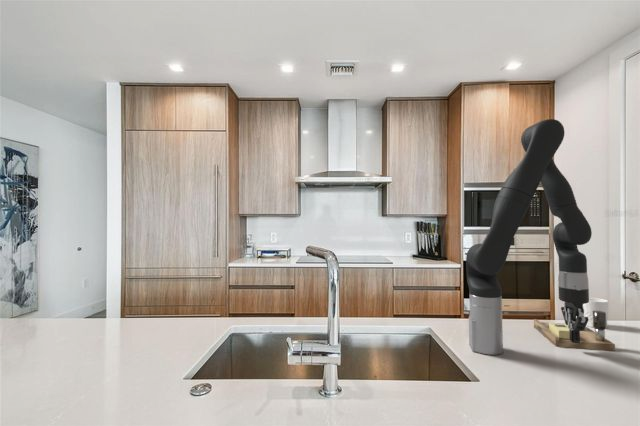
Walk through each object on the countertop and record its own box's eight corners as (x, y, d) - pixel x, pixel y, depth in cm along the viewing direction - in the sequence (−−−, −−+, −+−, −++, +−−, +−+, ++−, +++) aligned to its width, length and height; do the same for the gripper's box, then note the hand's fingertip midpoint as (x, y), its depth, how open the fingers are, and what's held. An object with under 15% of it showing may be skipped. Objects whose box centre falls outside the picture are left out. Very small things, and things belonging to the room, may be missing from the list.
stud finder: (559, 338, 109) (558, 330, 109) (549, 330, 117) (549, 322, 117) (576, 339, 108) (576, 331, 108) (565, 331, 116) (565, 323, 116)
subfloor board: (555, 346, 108) (555, 336, 108) (533, 327, 128) (533, 319, 128) (615, 350, 104) (614, 341, 104) (583, 330, 123) (582, 322, 124)
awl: (596, 341, 107) (596, 313, 107) (591, 338, 110) (590, 310, 110) (608, 342, 106) (607, 313, 106) (603, 338, 109) (602, 311, 109)
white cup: (577, 323, 131) (576, 298, 131) (591, 321, 133) (591, 296, 134) (599, 330, 123) (598, 302, 124) (614, 327, 126) (613, 301, 126)
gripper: (550, 281, 112) (552, 334, 112) (568, 289, 99) (570, 349, 99) (577, 282, 110) (578, 335, 110) (598, 290, 97) (600, 351, 97)
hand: (574, 342), depth 104 cm, fingers closed
